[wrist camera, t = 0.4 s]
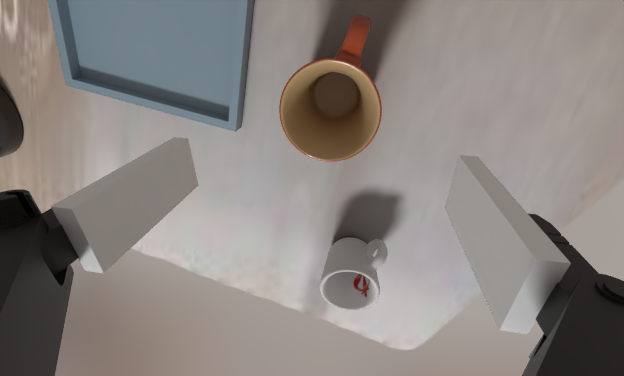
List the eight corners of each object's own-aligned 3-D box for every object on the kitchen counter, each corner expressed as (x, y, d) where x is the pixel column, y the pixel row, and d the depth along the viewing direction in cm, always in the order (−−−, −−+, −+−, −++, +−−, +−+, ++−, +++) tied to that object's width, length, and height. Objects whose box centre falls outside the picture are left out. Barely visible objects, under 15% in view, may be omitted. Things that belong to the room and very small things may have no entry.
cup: (362, 209, 40) (362, 247, 33) (401, 240, 42) (410, 282, 35) (315, 250, 45) (307, 289, 38) (352, 276, 47) (351, 319, 40)
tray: (79, 82, 37) (66, 85, 35) (44, -104, 28) (23, -113, 26) (241, 126, 37) (235, 131, 35) (259, -47, 28) (252, -52, 26)
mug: (357, 137, 35) (357, 174, 26) (291, 114, 35) (268, 142, 26) (402, 33, 29) (421, 36, 20) (322, 4, 29) (307, -7, 20)
